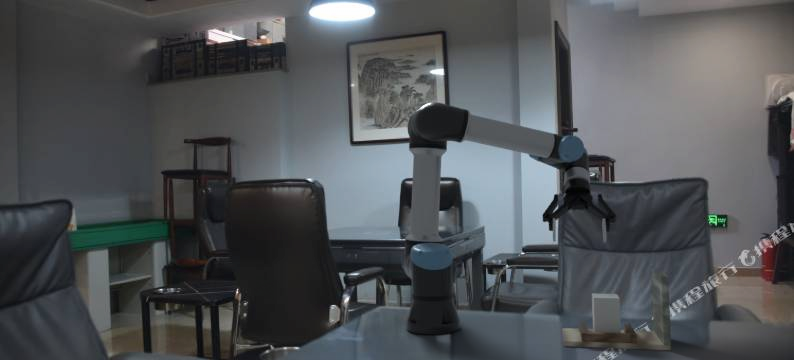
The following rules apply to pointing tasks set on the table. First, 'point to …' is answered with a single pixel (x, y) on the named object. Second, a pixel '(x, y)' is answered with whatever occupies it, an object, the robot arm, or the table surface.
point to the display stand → (628, 336)
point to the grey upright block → (606, 313)
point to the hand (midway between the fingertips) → (579, 238)
